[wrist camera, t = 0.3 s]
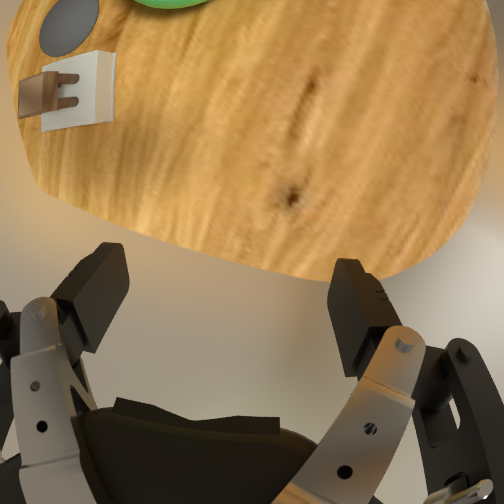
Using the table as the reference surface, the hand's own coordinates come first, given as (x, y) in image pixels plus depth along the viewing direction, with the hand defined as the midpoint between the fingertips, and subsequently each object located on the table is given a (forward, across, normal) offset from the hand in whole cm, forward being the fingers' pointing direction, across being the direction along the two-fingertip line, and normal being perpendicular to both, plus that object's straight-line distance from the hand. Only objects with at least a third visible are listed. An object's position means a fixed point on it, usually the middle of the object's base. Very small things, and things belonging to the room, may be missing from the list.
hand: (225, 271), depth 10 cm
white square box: (+29, +24, -9) cm, 39 cm away
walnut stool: (+24, +24, -9) cm, 35 cm away
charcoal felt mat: (+29, +29, -22) cm, 47 cm away
